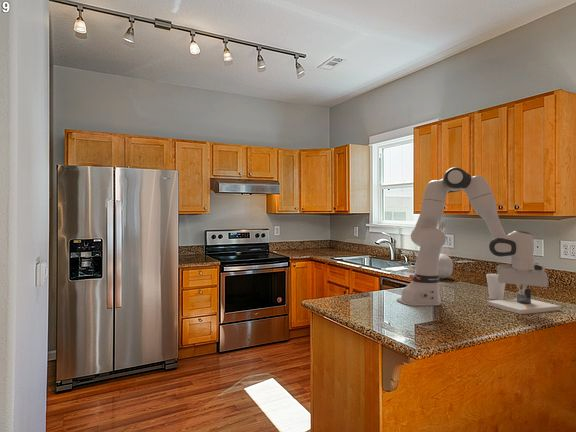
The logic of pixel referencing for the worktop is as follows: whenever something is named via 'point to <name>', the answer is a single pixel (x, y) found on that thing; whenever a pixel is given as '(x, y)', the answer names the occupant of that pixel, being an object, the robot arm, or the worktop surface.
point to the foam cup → (495, 287)
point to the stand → (523, 306)
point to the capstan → (524, 297)
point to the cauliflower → (444, 266)
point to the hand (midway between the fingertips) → (521, 294)
